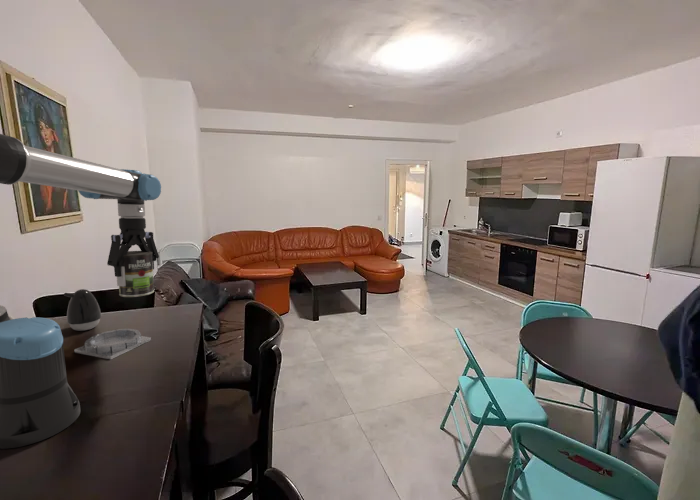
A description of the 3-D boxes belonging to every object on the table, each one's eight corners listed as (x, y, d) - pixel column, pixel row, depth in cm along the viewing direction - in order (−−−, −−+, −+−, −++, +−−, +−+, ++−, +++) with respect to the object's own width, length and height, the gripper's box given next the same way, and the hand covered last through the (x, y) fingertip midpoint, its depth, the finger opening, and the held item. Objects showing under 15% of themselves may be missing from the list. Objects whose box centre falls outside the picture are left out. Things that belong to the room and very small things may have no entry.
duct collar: (110, 359, 105) (109, 350, 104) (74, 352, 109) (73, 343, 108) (151, 340, 119) (150, 332, 119) (117, 334, 123) (117, 326, 123)
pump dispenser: (72, 325, 130) (68, 287, 128) (104, 321, 135) (101, 284, 132) (63, 335, 121) (58, 294, 119) (98, 331, 125) (94, 291, 123)
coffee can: (159, 293, 117) (157, 253, 115) (125, 299, 109) (122, 256, 107) (147, 287, 123) (144, 249, 121) (114, 293, 115) (111, 252, 113)
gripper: (107, 219, 100) (112, 291, 104) (168, 216, 122) (171, 276, 125) (89, 218, 103) (94, 289, 106) (152, 215, 124) (155, 274, 127)
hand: (136, 282), depth 115 cm, fingers closed on coffee can, 10 cm apart
